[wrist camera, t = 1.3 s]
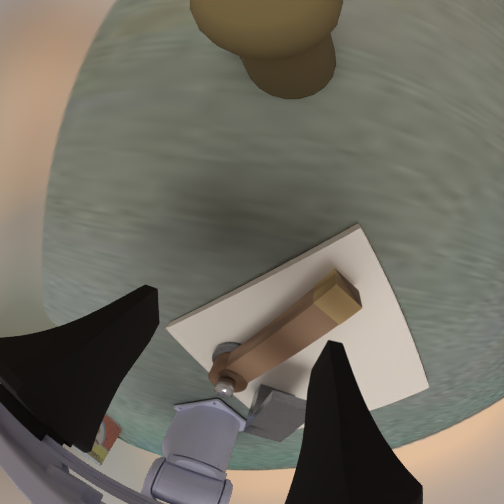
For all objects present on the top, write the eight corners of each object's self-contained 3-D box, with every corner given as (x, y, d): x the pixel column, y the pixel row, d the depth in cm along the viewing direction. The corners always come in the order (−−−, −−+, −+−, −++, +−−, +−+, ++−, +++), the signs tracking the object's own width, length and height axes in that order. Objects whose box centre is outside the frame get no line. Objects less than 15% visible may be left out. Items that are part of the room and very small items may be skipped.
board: (280, 426, 31) (279, 432, 30) (169, 322, 26) (165, 328, 25) (427, 381, 23) (429, 387, 22) (358, 222, 18) (360, 227, 17)
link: (237, 381, 25) (232, 396, 23) (208, 362, 25) (201, 377, 23) (363, 294, 18) (367, 312, 16) (329, 263, 18) (330, 278, 16)
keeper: (205, 373, 27) (188, 410, 23) (221, 330, 24) (202, 373, 19) (287, 403, 27) (280, 442, 22) (319, 367, 23) (316, 412, 19)
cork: (354, 59, 13) (400, -18, 4) (293, 117, 16) (263, 96, 6) (285, 7, 12) (248, -92, 3) (226, 63, 15) (129, 8, 5)
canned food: (124, 425, 47) (102, 463, 36) (119, 434, 52) (100, 466, 41) (84, 397, 46) (58, 432, 35) (84, 409, 51) (63, 440, 41)
